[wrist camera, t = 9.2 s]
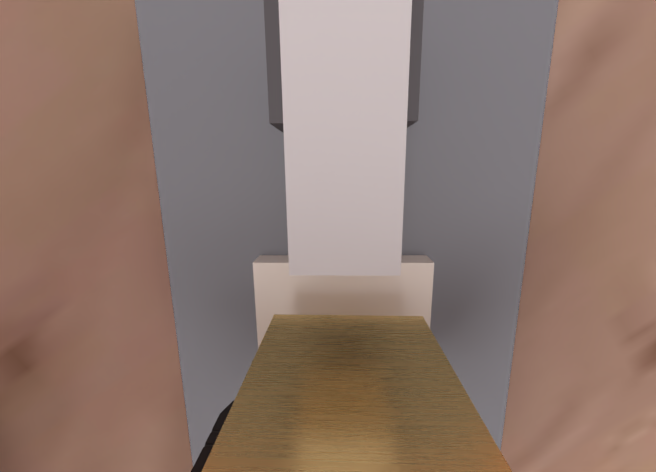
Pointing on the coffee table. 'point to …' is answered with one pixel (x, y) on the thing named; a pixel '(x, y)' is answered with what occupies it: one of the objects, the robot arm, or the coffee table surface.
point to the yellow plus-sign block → (352, 402)
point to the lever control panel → (345, 174)
